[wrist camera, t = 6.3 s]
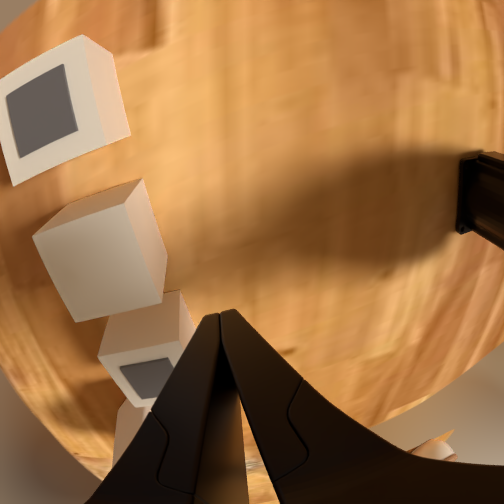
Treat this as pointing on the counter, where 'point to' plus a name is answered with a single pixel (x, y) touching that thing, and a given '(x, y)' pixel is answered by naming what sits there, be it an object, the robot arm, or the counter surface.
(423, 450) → the lidded jar
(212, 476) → the robot arm
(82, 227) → the plain cube
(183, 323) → the labelled cube a
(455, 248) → the counter surface
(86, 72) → the labelled cube
